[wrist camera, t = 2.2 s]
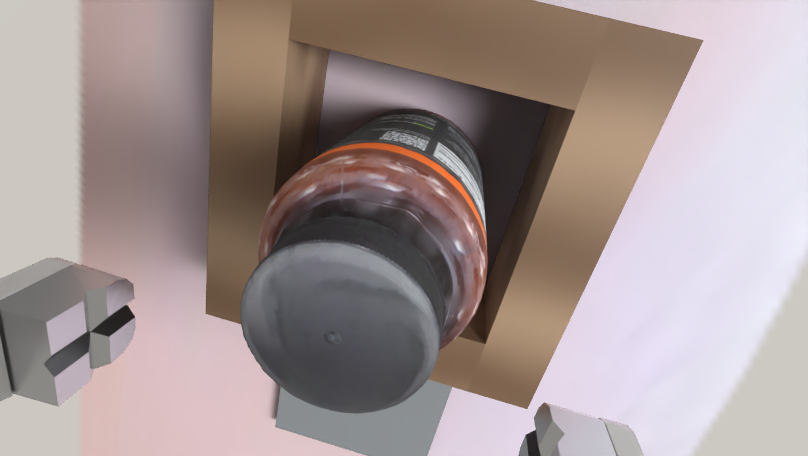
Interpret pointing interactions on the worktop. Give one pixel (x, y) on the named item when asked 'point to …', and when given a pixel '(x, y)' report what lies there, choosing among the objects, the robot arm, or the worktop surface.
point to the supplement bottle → (369, 264)
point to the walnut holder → (473, 64)
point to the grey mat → (370, 423)
